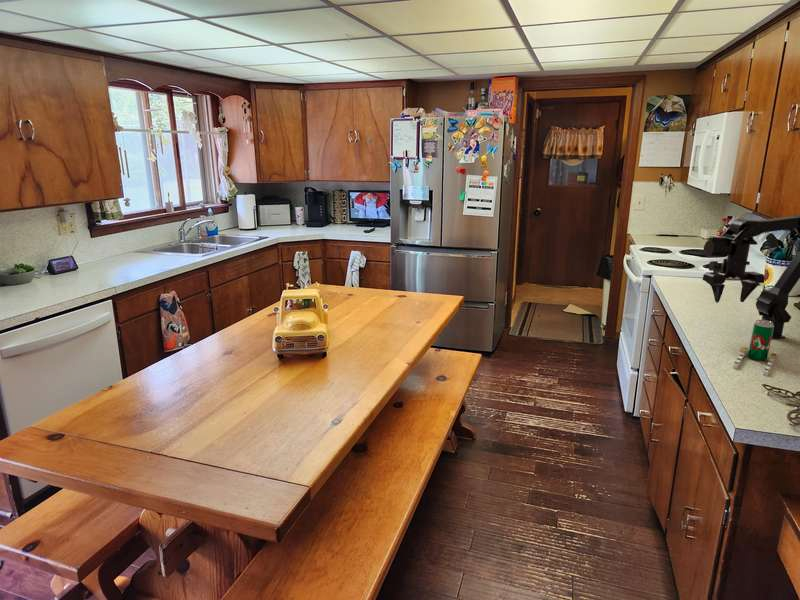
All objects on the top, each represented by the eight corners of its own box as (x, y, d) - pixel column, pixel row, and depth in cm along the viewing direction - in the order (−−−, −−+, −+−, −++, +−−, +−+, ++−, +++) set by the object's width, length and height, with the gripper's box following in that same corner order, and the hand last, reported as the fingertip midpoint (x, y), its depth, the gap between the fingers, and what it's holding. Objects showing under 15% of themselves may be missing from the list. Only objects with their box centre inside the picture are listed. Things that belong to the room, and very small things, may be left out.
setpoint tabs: (740, 350, 167) (741, 347, 166) (776, 358, 161) (777, 355, 160) (739, 352, 165) (739, 349, 165) (775, 359, 159) (776, 356, 159)
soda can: (761, 355, 166) (768, 319, 162) (770, 362, 161) (778, 324, 157) (744, 355, 166) (751, 318, 163) (752, 361, 161) (760, 324, 158)
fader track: (744, 349, 171) (745, 345, 170) (776, 356, 165) (777, 351, 165) (732, 368, 156) (733, 363, 156) (767, 375, 151) (768, 371, 150)
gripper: (745, 252, 185) (737, 295, 190) (695, 253, 183) (688, 296, 188) (770, 258, 175) (761, 304, 179) (718, 259, 173) (710, 305, 177)
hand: (729, 302), depth 181 cm, fingers open, 9 cm apart
